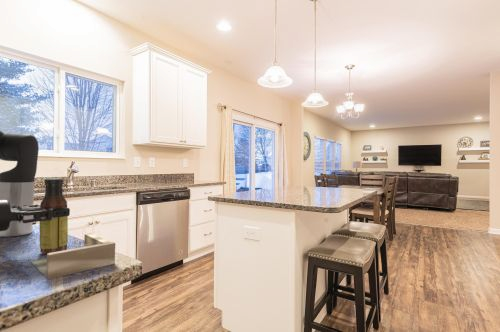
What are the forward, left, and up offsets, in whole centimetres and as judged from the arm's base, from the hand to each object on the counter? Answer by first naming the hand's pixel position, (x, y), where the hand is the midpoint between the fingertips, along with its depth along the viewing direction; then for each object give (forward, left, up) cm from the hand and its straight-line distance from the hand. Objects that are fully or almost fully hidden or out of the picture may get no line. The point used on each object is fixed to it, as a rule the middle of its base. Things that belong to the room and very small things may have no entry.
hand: (64, 210), depth 77 cm
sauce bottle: (0, -2, -11) cm, 11 cm away
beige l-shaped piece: (+13, -2, -11) cm, 17 cm away
